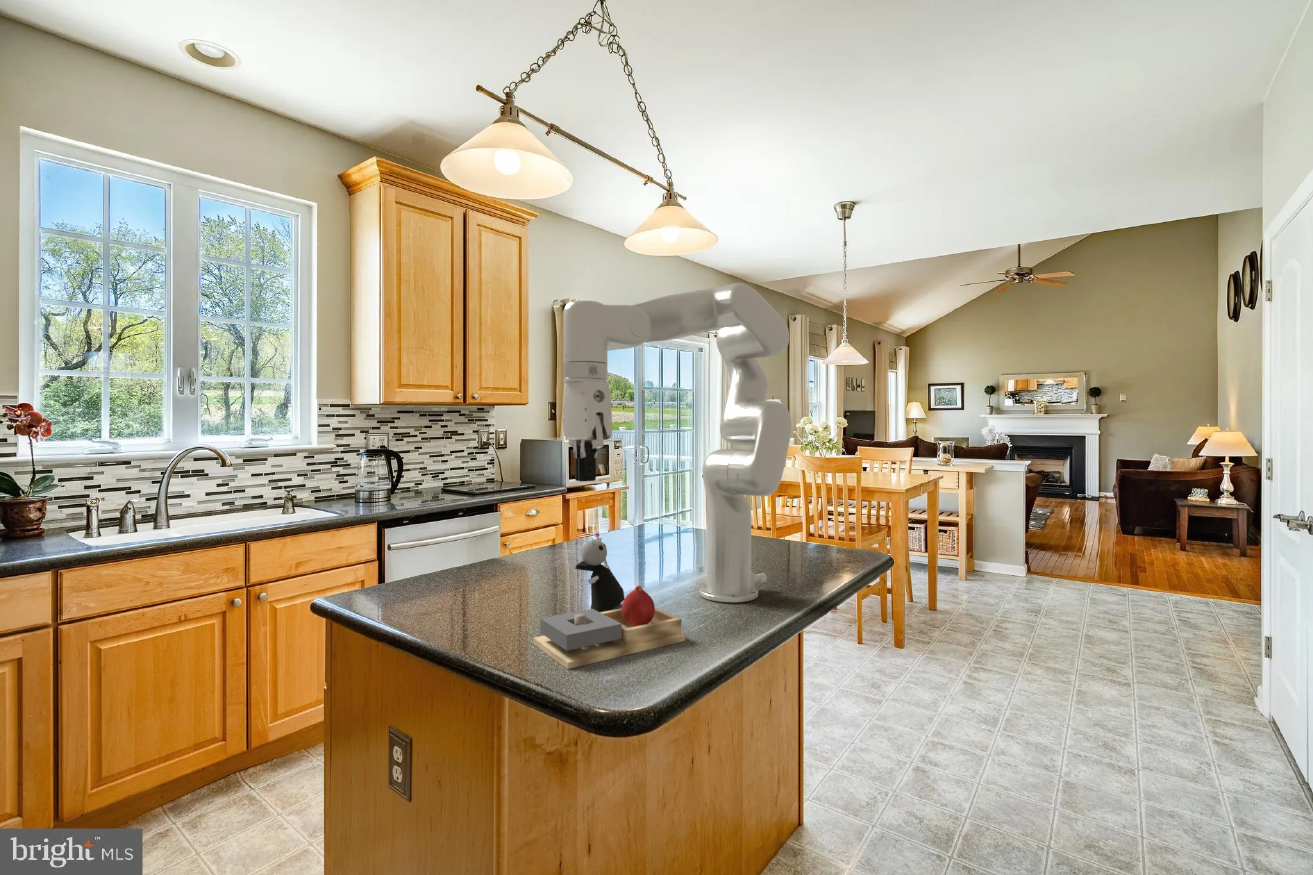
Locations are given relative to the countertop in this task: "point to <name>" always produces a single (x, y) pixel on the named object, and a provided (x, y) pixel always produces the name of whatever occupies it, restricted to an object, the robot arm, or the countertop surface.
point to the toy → (600, 576)
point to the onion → (638, 607)
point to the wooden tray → (633, 640)
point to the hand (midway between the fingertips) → (585, 480)
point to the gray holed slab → (580, 629)
